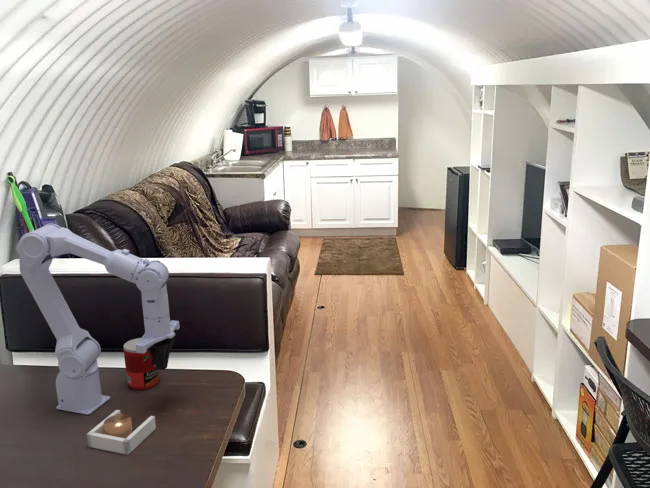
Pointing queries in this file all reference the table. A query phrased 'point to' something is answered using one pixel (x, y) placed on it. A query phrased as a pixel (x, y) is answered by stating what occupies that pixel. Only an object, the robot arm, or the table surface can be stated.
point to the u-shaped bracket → (117, 444)
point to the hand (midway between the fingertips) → (161, 368)
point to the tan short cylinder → (118, 426)
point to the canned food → (139, 367)
